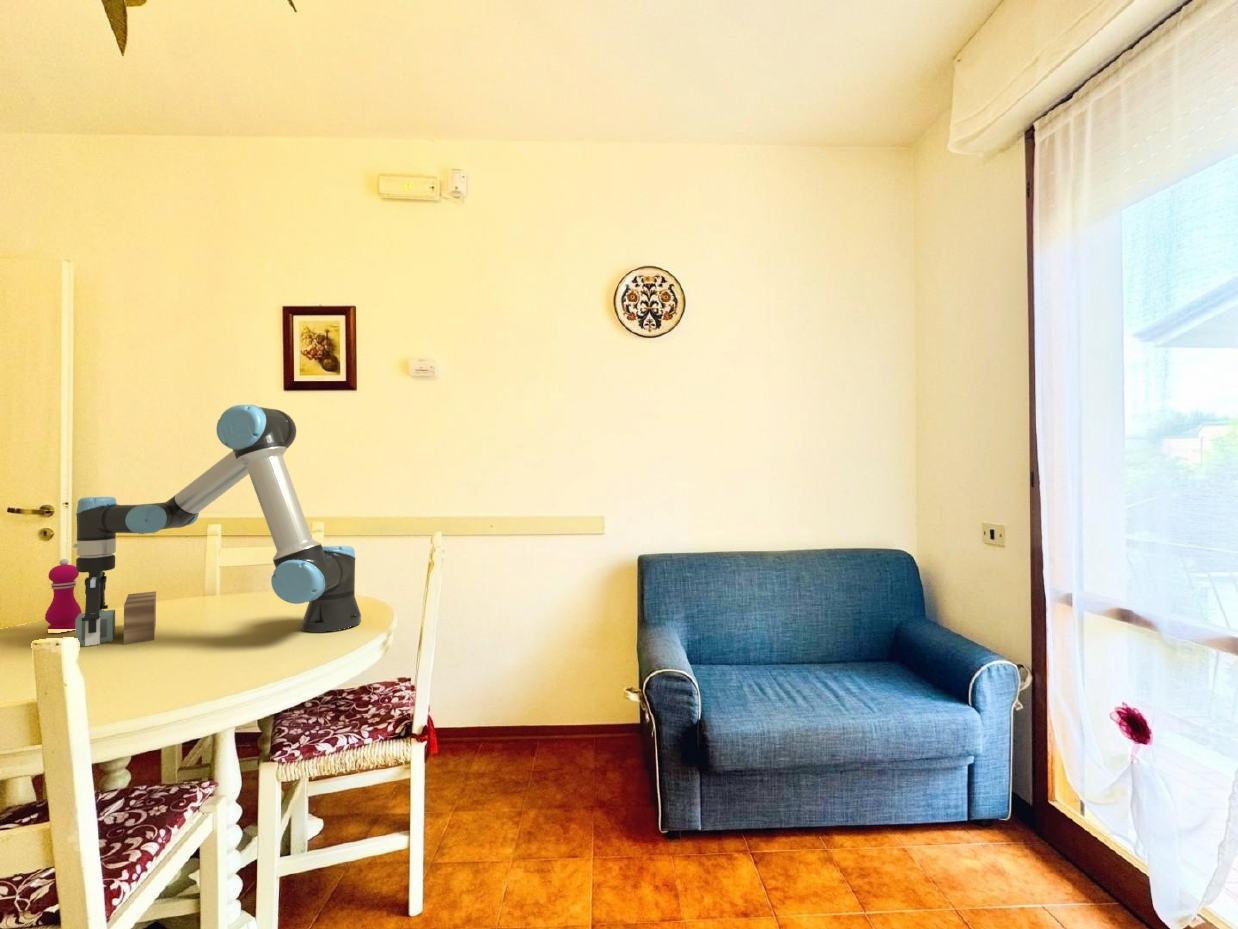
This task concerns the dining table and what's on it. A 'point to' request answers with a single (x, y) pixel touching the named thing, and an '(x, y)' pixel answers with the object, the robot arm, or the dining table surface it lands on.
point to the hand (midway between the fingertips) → (94, 639)
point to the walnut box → (139, 617)
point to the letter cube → (105, 626)
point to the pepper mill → (63, 597)
